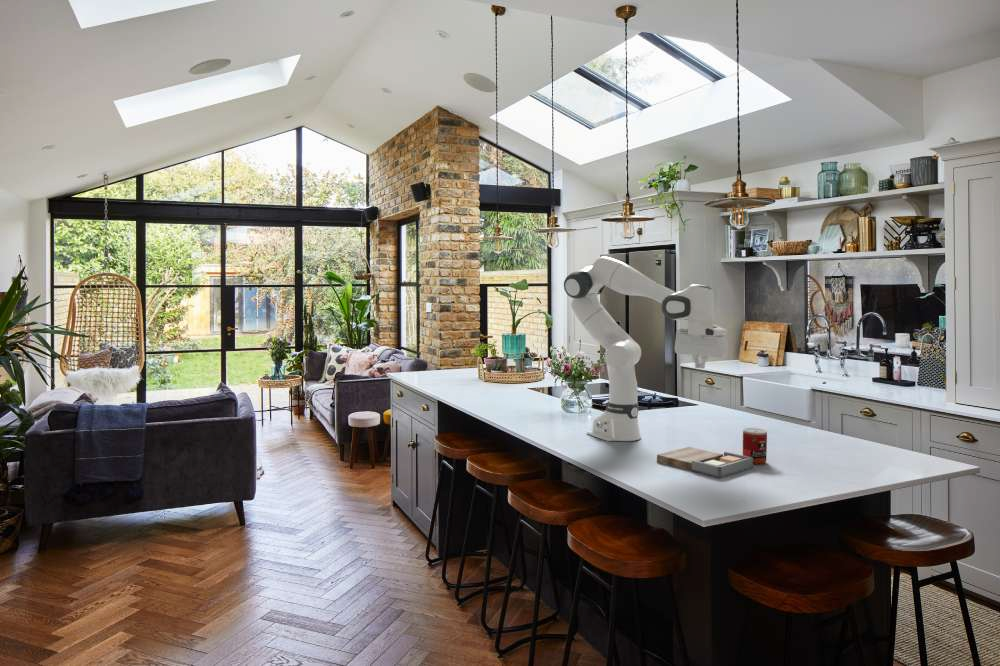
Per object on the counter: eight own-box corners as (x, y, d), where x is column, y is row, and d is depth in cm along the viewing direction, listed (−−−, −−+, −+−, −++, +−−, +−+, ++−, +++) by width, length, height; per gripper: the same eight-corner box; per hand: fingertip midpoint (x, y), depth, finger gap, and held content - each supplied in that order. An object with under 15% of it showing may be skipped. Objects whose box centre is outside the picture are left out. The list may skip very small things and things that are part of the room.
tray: (691, 471, 215) (691, 460, 215) (725, 461, 227) (725, 451, 226) (719, 478, 207) (719, 467, 207) (752, 467, 219) (753, 457, 218)
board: (656, 461, 227) (657, 454, 226) (688, 453, 238) (688, 446, 238) (691, 470, 216) (691, 463, 215) (722, 461, 227) (723, 454, 227)
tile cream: (703, 469, 214) (703, 462, 214) (712, 467, 217) (712, 459, 217) (717, 473, 210) (717, 465, 210) (726, 470, 213) (726, 462, 213)
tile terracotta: (719, 465, 220) (719, 457, 220) (728, 462, 223) (728, 455, 223) (732, 468, 216) (733, 460, 216) (741, 465, 219) (741, 458, 219)
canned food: (752, 465, 221) (752, 433, 221) (737, 459, 229) (738, 428, 228) (771, 464, 223) (772, 432, 223) (756, 458, 231) (757, 427, 230)
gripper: (671, 328, 241) (670, 366, 242) (720, 331, 225) (719, 371, 226) (681, 328, 245) (681, 364, 246) (730, 330, 229) (729, 370, 230)
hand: (699, 368), depth 236 cm, fingers closed
